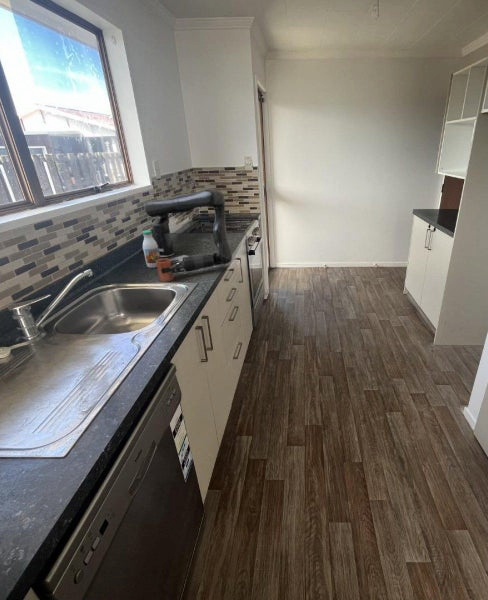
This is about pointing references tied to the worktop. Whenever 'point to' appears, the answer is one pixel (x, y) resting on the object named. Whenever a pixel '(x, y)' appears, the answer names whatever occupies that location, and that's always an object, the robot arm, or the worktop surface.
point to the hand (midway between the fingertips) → (160, 269)
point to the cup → (164, 264)
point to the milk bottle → (150, 249)
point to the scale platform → (179, 258)
